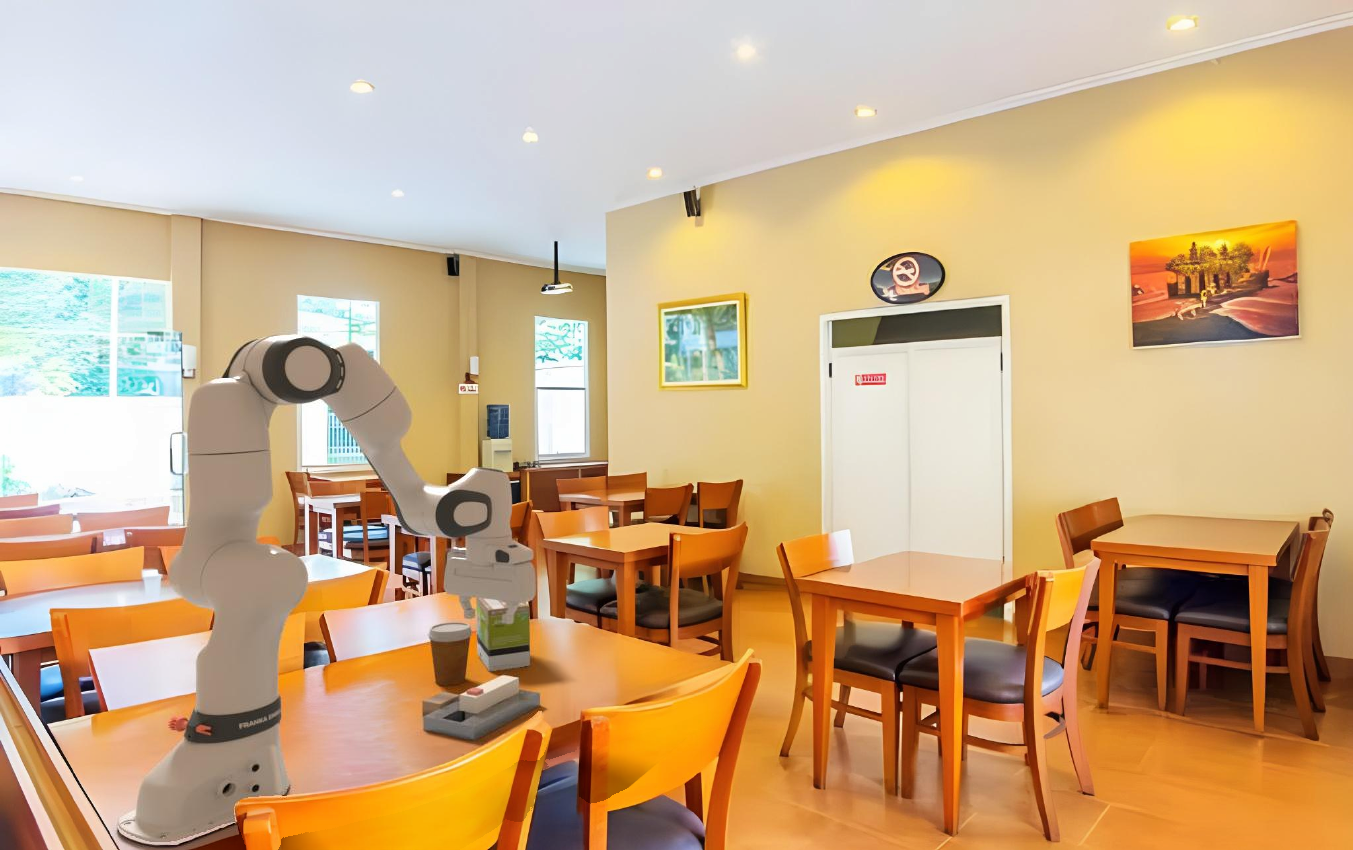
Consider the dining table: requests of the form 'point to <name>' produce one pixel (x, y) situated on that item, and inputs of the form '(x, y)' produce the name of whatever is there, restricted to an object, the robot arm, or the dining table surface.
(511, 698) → the keyhole plate
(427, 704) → the tan rectangular block
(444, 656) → the disposable coffee cup
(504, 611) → the tea box
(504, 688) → the white key block
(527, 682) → the dining table surface
